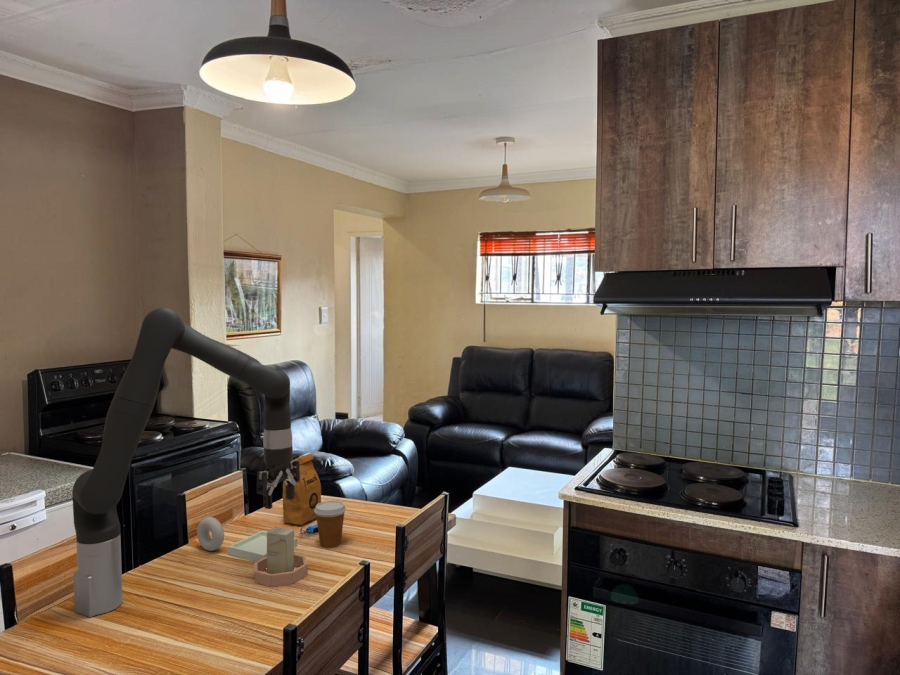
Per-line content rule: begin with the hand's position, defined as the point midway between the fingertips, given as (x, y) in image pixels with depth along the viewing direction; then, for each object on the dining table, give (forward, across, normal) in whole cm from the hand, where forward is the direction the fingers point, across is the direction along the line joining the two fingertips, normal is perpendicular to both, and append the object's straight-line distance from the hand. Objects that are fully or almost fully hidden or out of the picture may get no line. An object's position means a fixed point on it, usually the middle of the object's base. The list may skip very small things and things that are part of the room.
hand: (279, 503), depth 163 cm
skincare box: (+20, 0, 0) cm, 20 cm away
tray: (+20, +10, +16) cm, 27 cm away
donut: (+20, +3, +30) cm, 36 cm away
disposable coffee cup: (+20, +22, +1) cm, 30 cm away
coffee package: (+20, +35, +22) cm, 45 cm away
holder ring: (+20, 0, 0) cm, 20 cm away
